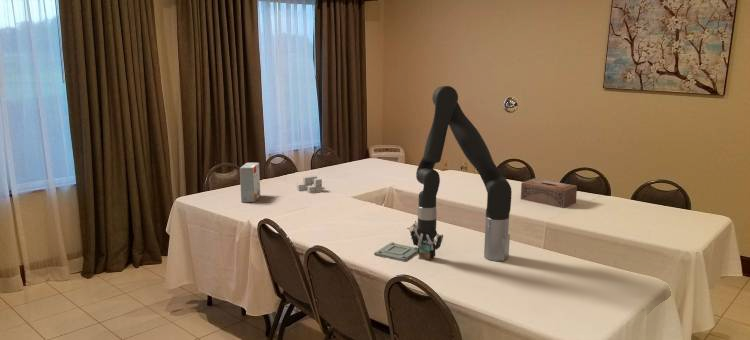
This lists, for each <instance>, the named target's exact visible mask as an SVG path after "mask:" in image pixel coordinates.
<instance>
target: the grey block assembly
mask: <svg viewBox="0 0 750 340" xmlns="http://www.w3.org/2000/svg"><path fill="white" fill-rule="evenodd" d="M296 190H297V191H298V192H302V191H307V193H309V194H317V193H322V192H323V179H322V178H320V177H318V176H317V175H315V174H313V175H307V176H306V175H305V176H302V183H301V182H300V183H296Z"/></svg>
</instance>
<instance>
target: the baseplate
mask: <svg viewBox="0 0 750 340" xmlns="http://www.w3.org/2000/svg"><path fill="white" fill-rule="evenodd" d="M373 254H374V256H377V257H380V258H381V257H382V258H387V259H390V260H395V261H400V262H406V261H407V260H409V259H410V258H412V256H414V255H416V254H418V247H417V246H411V245H404V244H400V243H396V242H392V241H391V242H389V243H388V244H386V245H385V246H383V247H382V248H380V249H378V250H377V251H375V252H374V253H373Z"/></svg>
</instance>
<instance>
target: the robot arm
mask: <svg viewBox="0 0 750 340" xmlns="http://www.w3.org/2000/svg"><path fill="white" fill-rule="evenodd" d="M458 94H459V93H458V91H457V90H456V89H455V88H454V87H453V86H450V85H443V86H439V87H437V88H436V89H435V90H434V91H433V93H432V104H434V106H435V107H434V114H433V115H434V116H433V120H432V124H431V127H430V130H429V132H428V134H427V135H428V136H427V139H426V143H425V146H424V151H423V156H422V158H421V160H420V162H419V164H418V166H417V170H416V174H415V175H416V176H415V177H416V180H417V182H418V183H419V184H421V185H423V189H422V190H421V191H420V192H419V193H418V208H417V223H418V229H417V230H413V231H411V234H410V236H411V237H412V239H411V240H412V243H413V246H415V247H417V248H418V252H417V254H418V255H419V245H420V244H421V243H423V242H428V243H429V245H430V248H431V251H430V258H431V260H432V259H434V258H435V257H436V251H437V250H439V249H440V248H441V245H442V242H443V238H444V234H439V233H438V231H437V220H438V219H437V218H438V217H437V215H438V214H437V213H438V212H437V195H438V193H439V188H440V183H441V178H440V173H439V171H437V170H435V169H434V167H435V166H436V164H437V163H440V162H441V160H442V157H443V152H444V147H445V143H446V142H445V141H446V138H447V134H448V128H449V129H450V131H451V132H452V135H453V137H454V139H455V140H456V142H457V144H458V146H459V147H460V149H461V151H462V152H463V155H464V156H465V157H466V159H467V160H468V161H469V163H470V164H471V165H472V166H473V167H474V168H475V170H476V171H477V173H478V174H479V175H480V178H481V181H482V182H483V184H484V187H485V190H486V192H487V197H486V199H487V200H486V209H485V225H484V226H485V227H484V247H483V248H484V249H483V250H484V251H483V257H484V258H485V259H487V260H489V261H494V262H497V261H498V262H505V261H506V260H507V259H508V258H509V257H510V237H511V234H509V230H510V228H509V226H510V213H511V210H512V209H511V207H512V206H511V205H512V191H513V190H512V187H511V184H510V183H509V181H508V179H507V178H506V177H505V176H504V175H503V174H502V172H501V171H500V169H499V168H498V167H497V165H496V164H495V162H494V160H493V157H492V155H491V152H490V150H489V148H488V146H487V144H486V142H485V140H484V138H483V137H482V135H481V133H480V131H478V129H477V128H476V127H475V125H474V124H473V123H472V122H471V120H470V119H469V118H468V116H466V115H465V113H464V111H463V110H462V108H461V106H460V104H459V95H458ZM417 233H418V235H419V237H420V238H419V240H418V237H417ZM435 238H436V240H435Z"/></svg>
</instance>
